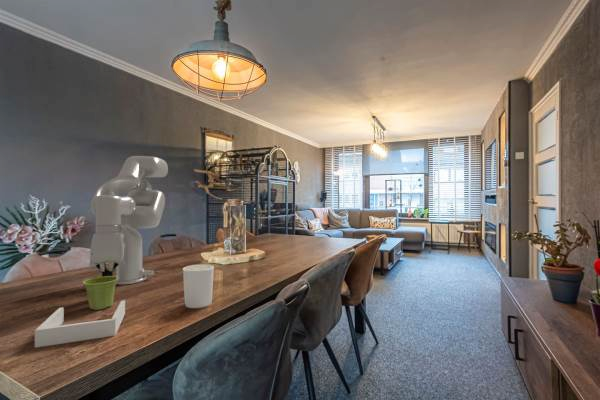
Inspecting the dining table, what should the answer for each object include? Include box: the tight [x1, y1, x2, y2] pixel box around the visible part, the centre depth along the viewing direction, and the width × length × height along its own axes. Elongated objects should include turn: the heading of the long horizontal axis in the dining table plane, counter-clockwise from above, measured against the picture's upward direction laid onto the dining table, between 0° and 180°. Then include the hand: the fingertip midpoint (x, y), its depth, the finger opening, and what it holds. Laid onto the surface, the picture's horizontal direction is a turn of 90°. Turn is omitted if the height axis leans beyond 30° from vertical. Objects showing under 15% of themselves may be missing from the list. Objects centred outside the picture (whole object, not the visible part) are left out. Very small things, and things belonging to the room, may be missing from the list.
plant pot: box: [82, 275, 118, 311], centre depth 94 cm, size 9×9×9 cm
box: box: [34, 299, 126, 348], centre depth 78 cm, size 16×16×4 cm
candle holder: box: [182, 263, 215, 309], centre depth 97 cm, size 10×10×12 cm
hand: (107, 282), depth 104 cm, fingers closed
